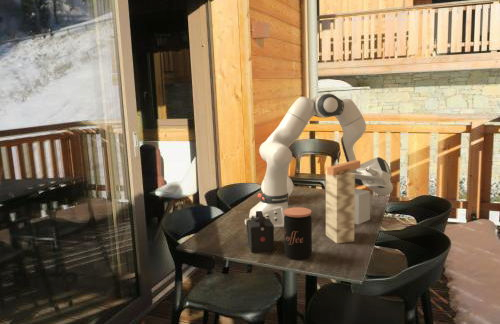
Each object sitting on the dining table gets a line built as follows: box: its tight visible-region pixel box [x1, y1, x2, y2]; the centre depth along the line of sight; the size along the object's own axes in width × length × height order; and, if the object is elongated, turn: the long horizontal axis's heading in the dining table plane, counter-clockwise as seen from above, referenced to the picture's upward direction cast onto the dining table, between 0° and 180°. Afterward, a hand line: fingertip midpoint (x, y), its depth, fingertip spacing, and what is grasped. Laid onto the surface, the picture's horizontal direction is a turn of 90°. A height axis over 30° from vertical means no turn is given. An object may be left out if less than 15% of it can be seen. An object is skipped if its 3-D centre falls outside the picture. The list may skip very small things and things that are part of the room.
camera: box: [245, 211, 275, 253], centre depth 188 cm, size 11×14×15 cm
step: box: [354, 188, 371, 225], centre depth 219 cm, size 10×10×14 cm
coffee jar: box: [283, 206, 313, 261], centre depth 177 cm, size 11×11×18 cm
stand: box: [325, 169, 356, 244], centre depth 193 cm, size 10×11×30 cm
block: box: [326, 159, 361, 175], centre depth 193 cm, size 20×3×3 cm, turn 135°
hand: (358, 167), depth 201 cm, fingers open, 8 cm apart
